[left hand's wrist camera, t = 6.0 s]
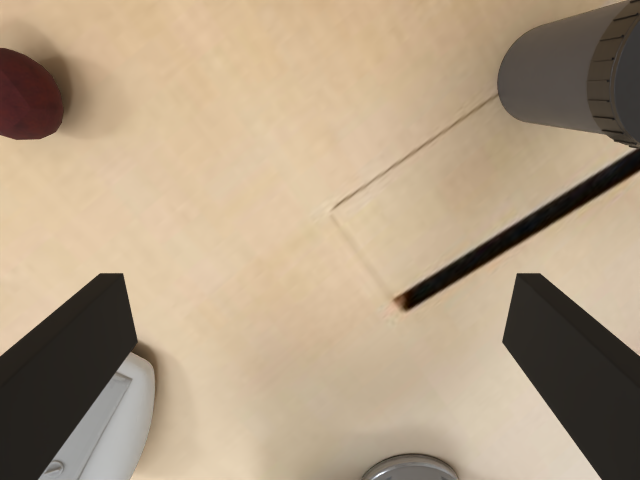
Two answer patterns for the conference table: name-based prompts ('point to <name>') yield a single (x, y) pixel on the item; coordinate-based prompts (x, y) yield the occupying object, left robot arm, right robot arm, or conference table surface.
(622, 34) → the lid
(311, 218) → the conference table surface
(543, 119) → the jar
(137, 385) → the projector
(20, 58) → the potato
